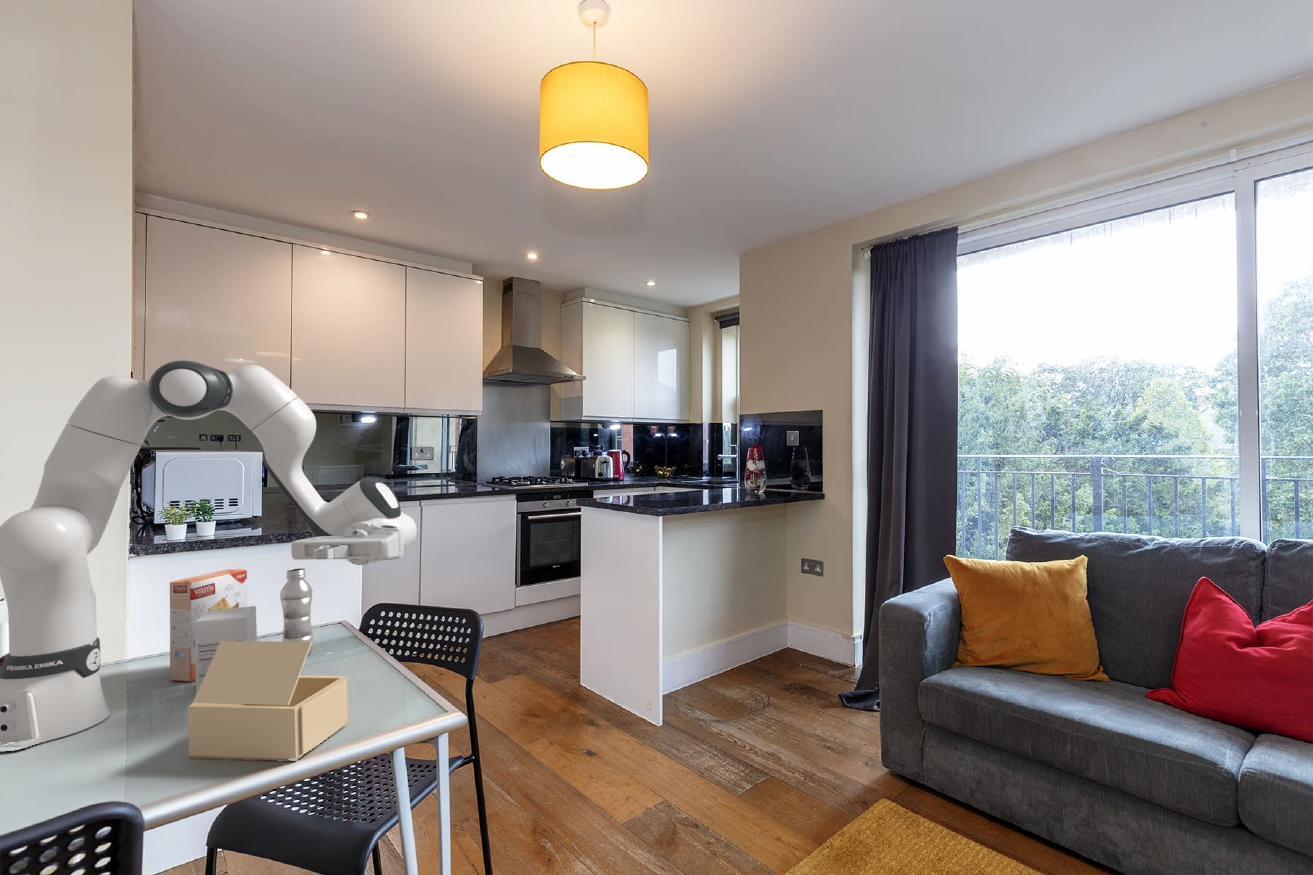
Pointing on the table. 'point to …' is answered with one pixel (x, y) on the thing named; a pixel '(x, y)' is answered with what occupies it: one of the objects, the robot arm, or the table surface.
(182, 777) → the table surface
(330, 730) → the carton
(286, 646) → the flap
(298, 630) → the plastic bottle
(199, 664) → the supplement box
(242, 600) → the cracker box
